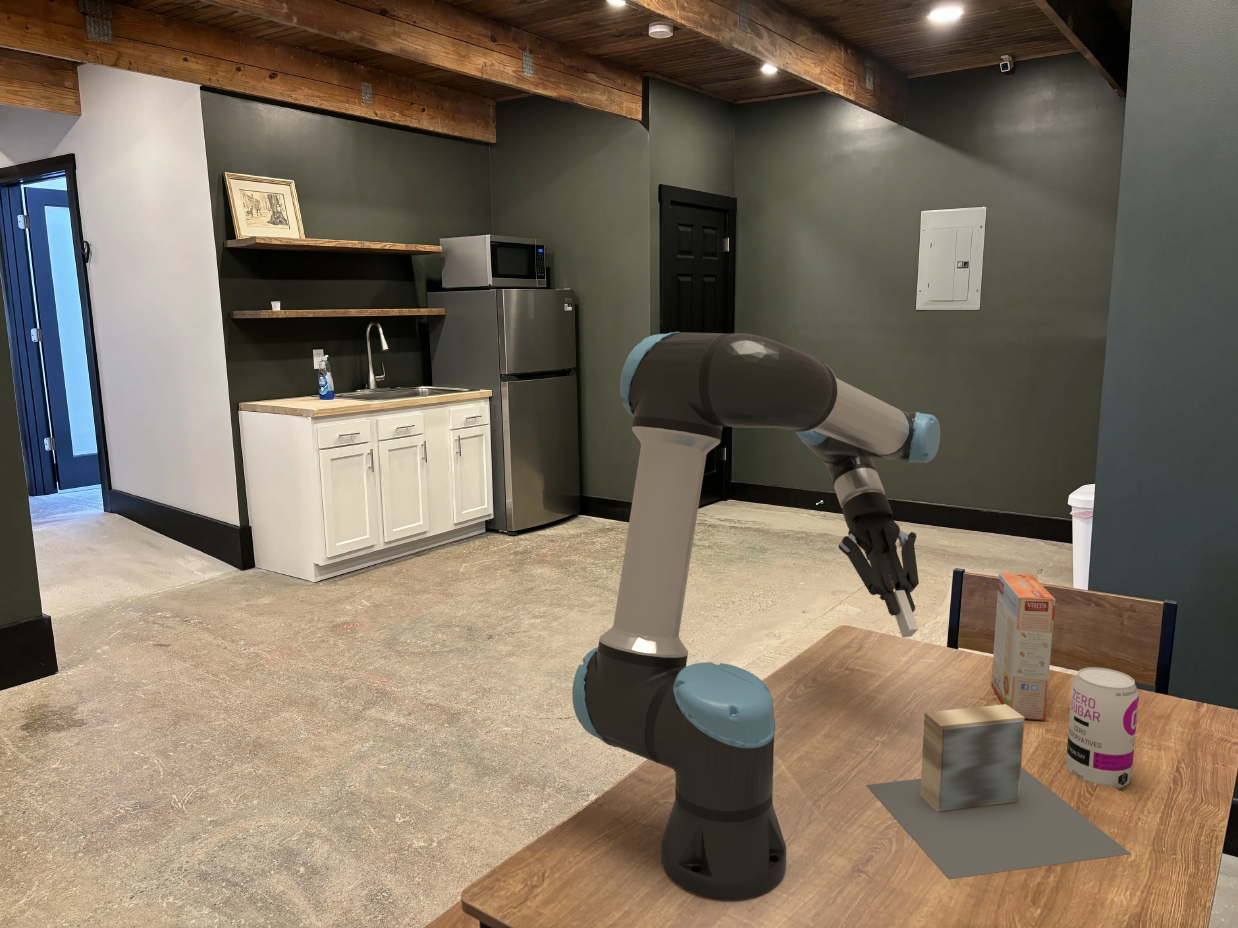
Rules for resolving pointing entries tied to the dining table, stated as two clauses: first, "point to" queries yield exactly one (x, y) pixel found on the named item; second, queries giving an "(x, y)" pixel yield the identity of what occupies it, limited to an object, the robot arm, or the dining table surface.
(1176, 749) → the dining table surface
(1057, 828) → the mat
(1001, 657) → the cracker box
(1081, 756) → the supplement can
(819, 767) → the dining table surface
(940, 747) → the wooden block
